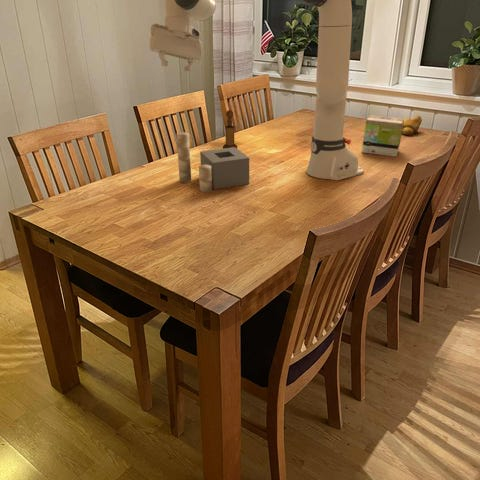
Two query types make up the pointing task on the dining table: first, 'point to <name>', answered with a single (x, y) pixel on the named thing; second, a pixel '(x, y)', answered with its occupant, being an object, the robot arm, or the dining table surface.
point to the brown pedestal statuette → (229, 132)
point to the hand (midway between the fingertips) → (176, 69)
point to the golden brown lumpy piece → (411, 125)
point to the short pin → (205, 178)
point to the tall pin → (184, 157)
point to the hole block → (226, 167)
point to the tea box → (382, 135)
